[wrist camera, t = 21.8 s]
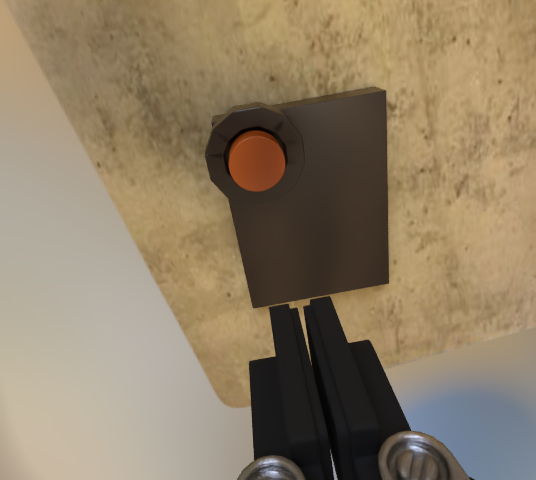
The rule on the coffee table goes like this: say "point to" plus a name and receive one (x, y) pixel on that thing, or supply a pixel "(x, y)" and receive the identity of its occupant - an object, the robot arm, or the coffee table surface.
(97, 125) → the coffee table surface
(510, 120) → the coffee table surface
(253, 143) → the button
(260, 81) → the coffee table surface
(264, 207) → the button block
